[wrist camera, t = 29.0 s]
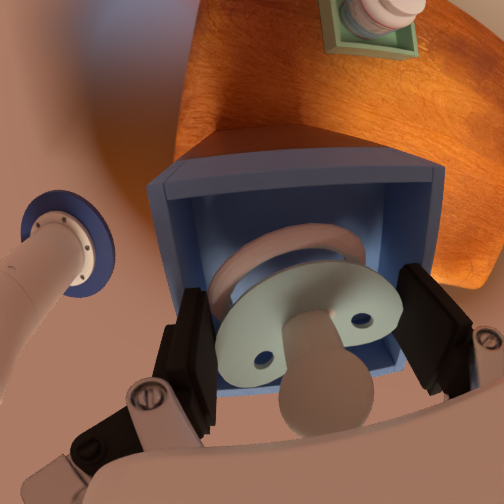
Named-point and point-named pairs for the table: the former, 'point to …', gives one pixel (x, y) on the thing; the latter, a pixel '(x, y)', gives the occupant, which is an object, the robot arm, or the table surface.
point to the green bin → (343, 42)
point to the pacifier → (304, 326)
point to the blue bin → (294, 213)
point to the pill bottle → (378, 16)
